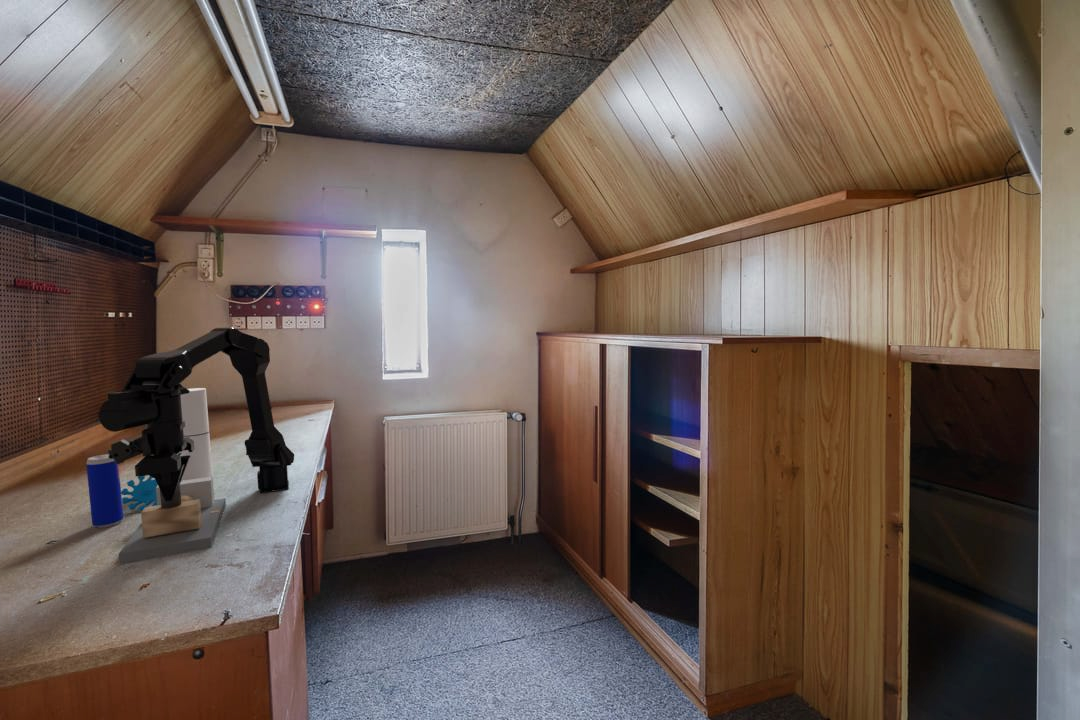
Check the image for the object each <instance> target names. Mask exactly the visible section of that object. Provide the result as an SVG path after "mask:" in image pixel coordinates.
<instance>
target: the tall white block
mask: <svg viewBox="0 0 1080 720" xmlns="http://www.w3.org/2000/svg"><path fill="white" fill-rule="evenodd" d="M187 389H188V390H189V391H190V392H189V393H188V394H183V395H181V407H182V419H183V422H184V421H185V427H184V428H183V432H184V438H187V437H189V438H190V439H192V440H193V441H194V451H193V452H189V451H188V450H184V451H182V452H180V453H182V456H188V455H190V456H191V457H190V459H189V462H188V464H187V467H186V470H185V472H184V475H183V477H182V480H181V481H183V480H191V479H199V478H206V477H209V476H211V475H212V474H213V466H212V465H213V463H212V462H213V461H212V449H211V438H210V437H211V436H210V435H211V434H210V425H209V412H208V399H207V398H208V397H207V388H205V387H196V388H195V387H194V388H187ZM212 476H213V475H212ZM212 476H211V477H212Z"/></svg>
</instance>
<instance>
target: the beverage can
mask: <svg viewBox="0 0 1080 720" xmlns="http://www.w3.org/2000/svg"><path fill="white" fill-rule="evenodd" d="M108 456H109V453H108V454H107V453H105V454H100V455H99V454H98V455H94V456H90V457H88V458H87V461H86V464H85V465H86V474H87V485H88V486H87V487H88V495H89V505H90V515H91V525H92V526H93V527H95V528H96V527H104V528H108V527H107V526H109V527H112V526H111V525H113V526H115V525H114V524H116V525H118V524H120V523H121V522H122V521H123V520H124V508H123V502H122V498H123V497H122V494H121V492H122V487H121V478H120V466H119V465H120V464H116V463H115V461H114V460H113V459H110V458H109V457H108ZM119 522H120V523H119ZM117 523H118V524H117Z"/></svg>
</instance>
